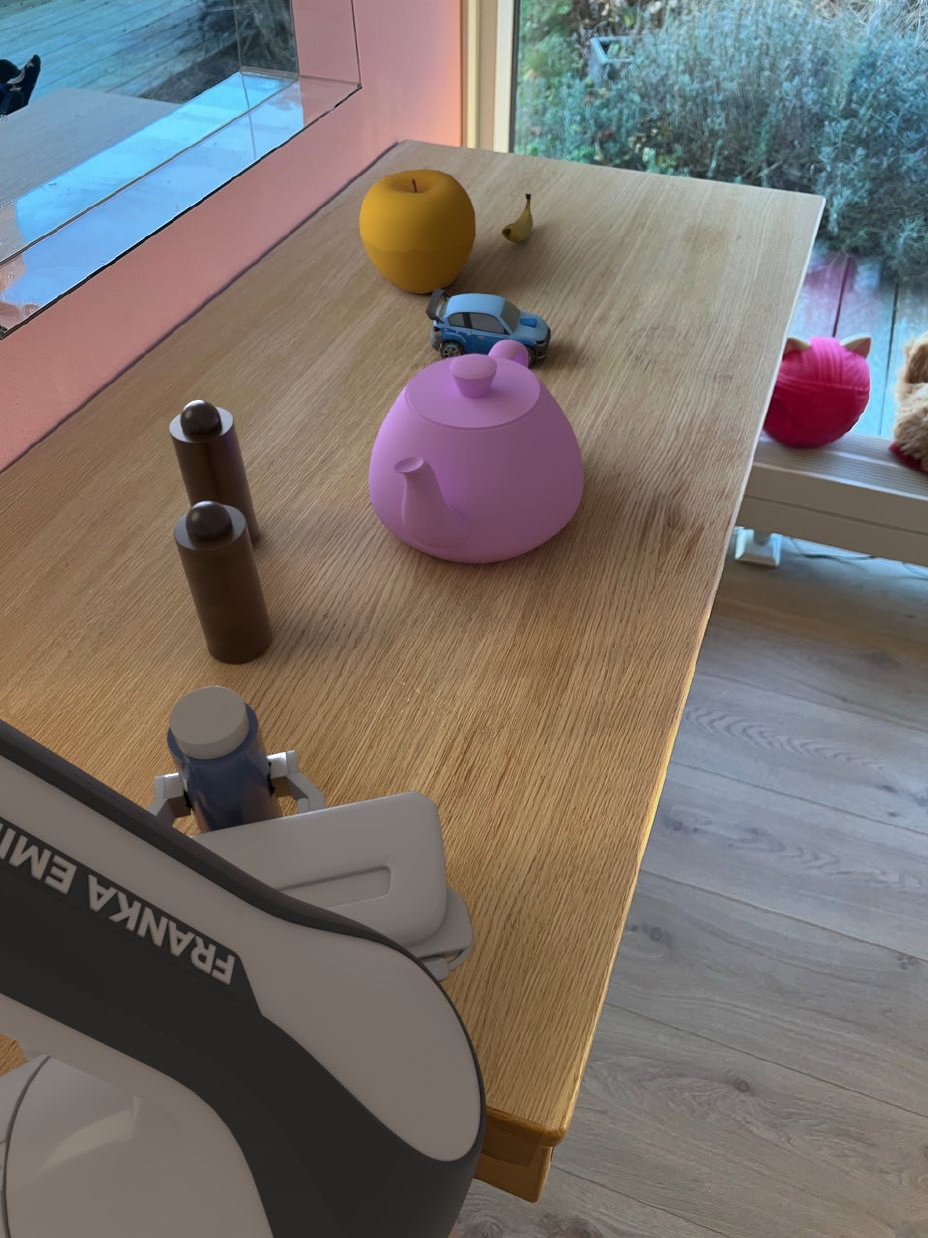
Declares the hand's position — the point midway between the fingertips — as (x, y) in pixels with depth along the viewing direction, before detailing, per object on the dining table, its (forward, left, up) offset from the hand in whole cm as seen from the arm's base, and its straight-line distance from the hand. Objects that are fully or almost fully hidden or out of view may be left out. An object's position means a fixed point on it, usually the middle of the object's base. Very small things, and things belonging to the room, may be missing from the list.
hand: (227, 769), depth 52 cm
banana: (-22, +84, -12) cm, 88 cm away
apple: (-28, +71, -12) cm, 78 cm away
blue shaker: (+1, -1, -7) cm, 7 cm away
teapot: (-4, +36, -12) cm, 38 cm away
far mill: (-21, +25, -11) cm, 35 cm away
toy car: (-14, +60, -12) cm, 63 cm away
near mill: (-13, +16, -11) cm, 23 cm away
